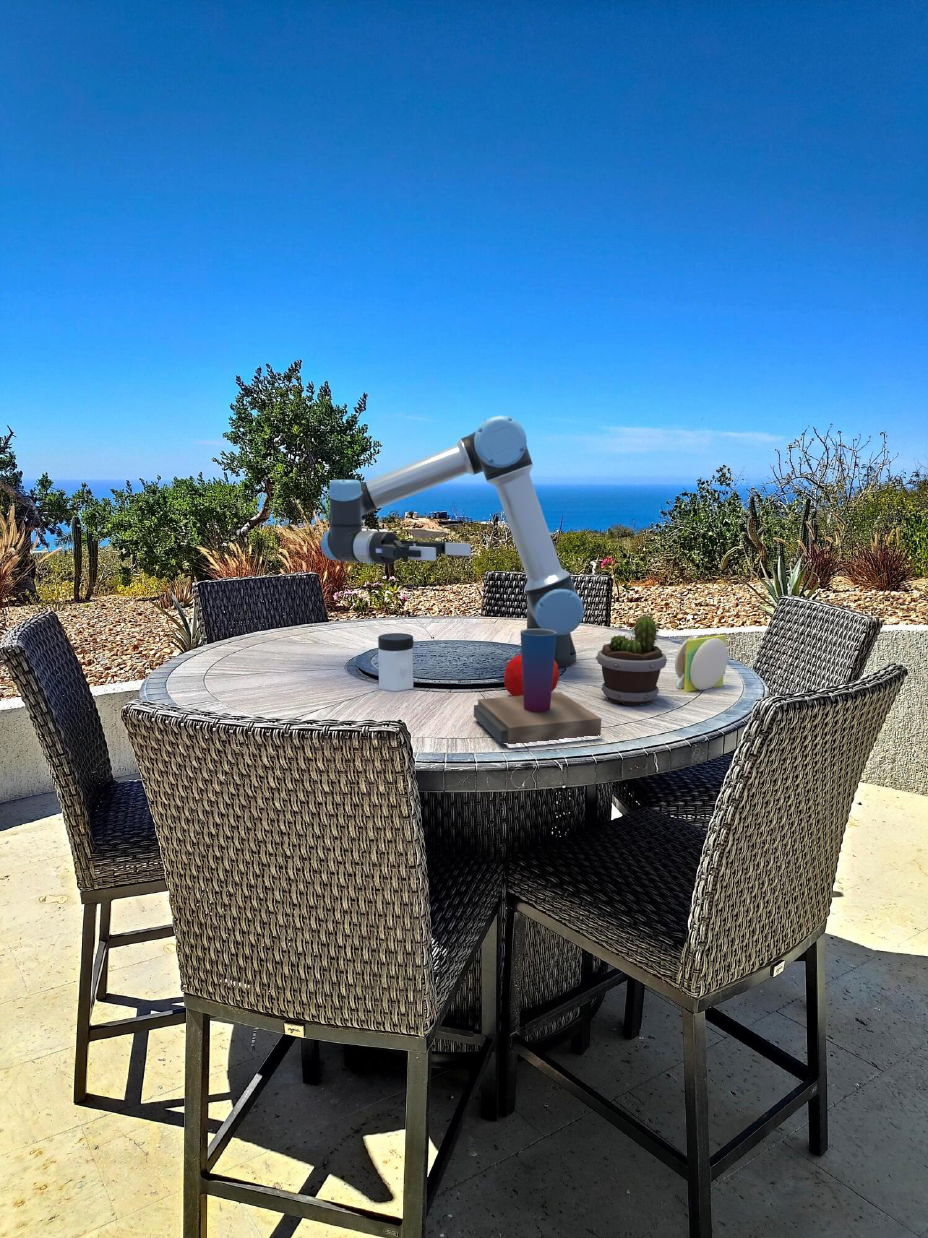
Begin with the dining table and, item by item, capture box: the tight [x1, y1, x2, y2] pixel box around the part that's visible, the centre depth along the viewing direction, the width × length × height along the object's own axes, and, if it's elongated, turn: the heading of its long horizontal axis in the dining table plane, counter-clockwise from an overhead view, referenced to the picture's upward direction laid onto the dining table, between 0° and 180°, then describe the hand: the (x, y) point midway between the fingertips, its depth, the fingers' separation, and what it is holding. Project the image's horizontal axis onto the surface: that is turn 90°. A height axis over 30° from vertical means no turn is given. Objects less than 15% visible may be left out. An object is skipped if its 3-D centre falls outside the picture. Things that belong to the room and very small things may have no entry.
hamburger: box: [674, 634, 729, 693], centre depth 167 cm, size 12×8×12 cm
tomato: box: [503, 653, 560, 697], centre depth 158 cm, size 11×13×10 cm
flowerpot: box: [595, 610, 668, 707], centre depth 155 cm, size 14×15×20 cm
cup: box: [520, 628, 557, 712], centre depth 136 cm, size 7×7×15 cm
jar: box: [377, 632, 415, 692], centre depth 166 cm, size 9×8×12 cm
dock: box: [473, 691, 602, 744], centre depth 137 cm, size 19×18×4 cm
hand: (453, 551), depth 156 cm, fingers open, 13 cm apart
